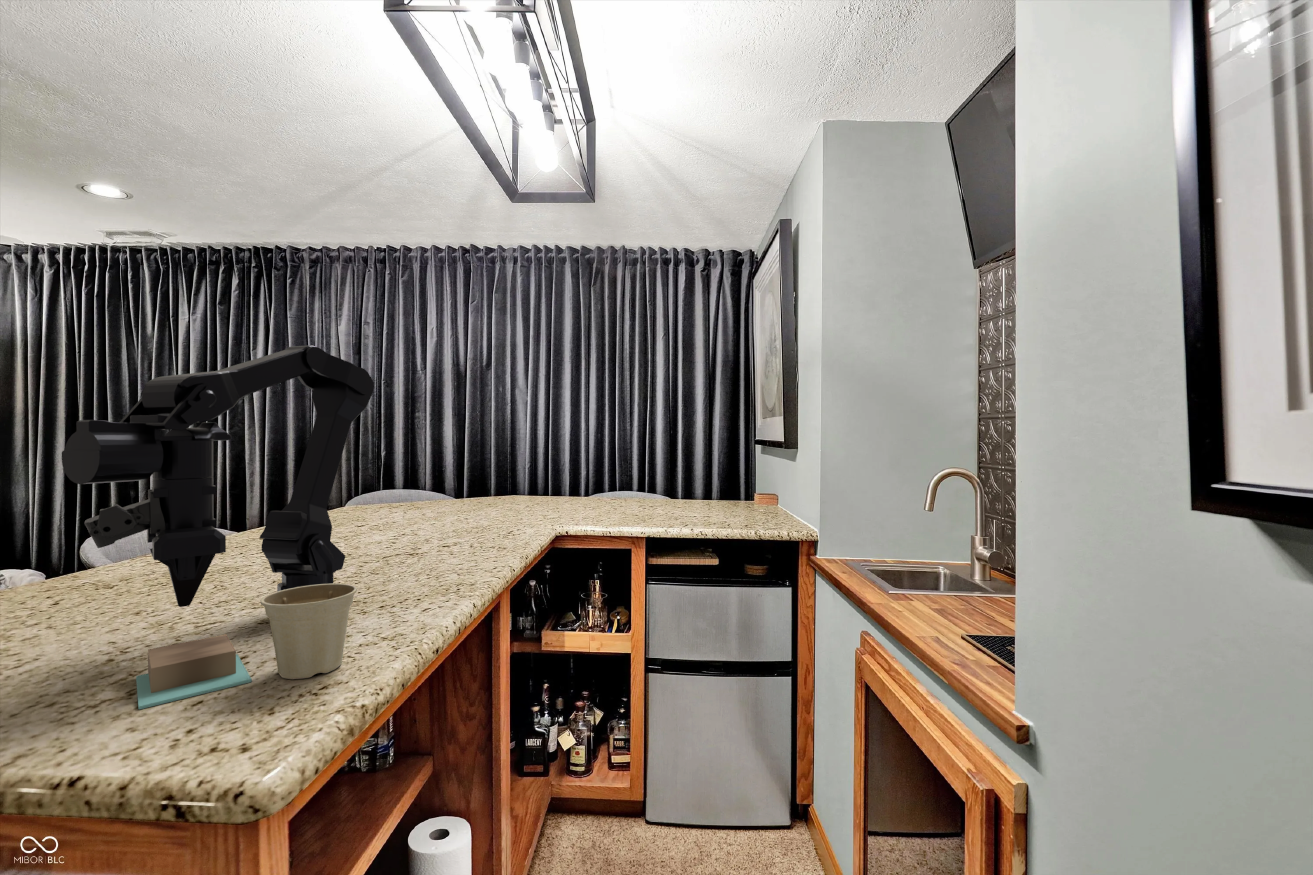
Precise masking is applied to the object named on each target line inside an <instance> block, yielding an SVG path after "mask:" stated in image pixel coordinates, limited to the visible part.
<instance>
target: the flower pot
mask: <svg viewBox="0 0 1313 875" xmlns="http://www.w3.org/2000/svg"><path fill="white" fill-rule="evenodd" d="M357 592H358V587H357V586H356V585H354V584H349V583H336V582H335V583H334V582H333V583H332V584H318V585H309V586H302V587H296V588H290V589H285V590H281V591H278V592H277V591H275V592H271V593H269V594H267V595H264V596H263V597H262V598H261V599H260V600H259V602H260V605H261V606H262V607H264V612H265V615H266V617H267V618H269V625H270V630H271V635H272V636H271V637H272V642H273V648H274V653H275V659H276V666H277V667H276V668H277V673H278V674H279V676H280V677H281V678H282V679H286V680H287V679H289V680H301V679H303V680H304V679H308V678H311V677H313V676H314V675H316V674H320V673H322V674H327V673H329V672H330V673H331V672H333V671H334V670H336V669H338V668H339V667H340V666H341V665H342V663H343V656H344V649H345V641H346V633H347V627H348V619H349V614H350V608H351V606H352V605H353V603H354V601H353V600H354V596H355V594H357Z"/></svg>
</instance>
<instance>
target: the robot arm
mask: <svg viewBox="0 0 1313 875" xmlns="http://www.w3.org/2000/svg"><path fill="white" fill-rule="evenodd" d="M295 378H297V379H298V380H299V381H300V383H301V384H302V385H303V386H305V387H306V388H308V389H310V390H312V396H311V401H312V403H313V406H314V409H315V413H316V417H315V420H314V423H313V427H312V430H311V434H310V436H309V439H308V442H307V446H306V449H305V453H304V456H303V458H302V462H301V466H300V469H299V472H298V475H297V478H296V481H295V484H294V488H293V490H292V494H291V497H290V500H289V502H288V504H286V506H284V507H283V508H282V510H270V511H269V513H268V514H267V516H266V521H265V527H264V528H263V529H264V530H263V531H262V533H261V534H260V536H259V539H262V543H261V553H263V554H264V557H265V558H266V559H267V561H268V563H269V566H270V570H271V572H272V573H275V574H277V573H279V574H280V573H281V582H279V583H278V584H277V591H276V592H278V591H281V590H285V589H290V588H296V587H302V586H309V585H318V584H332V583H334V573H336V572H337V571H341V570H343V567H344V564H345V561H346V560H345V559H346V555H345V554H344V553H343V551H341V550H340V549H339V547H338V546H336V545H335V544H334V542H332V541H331V536H332V531H333V530H332V529H333V524H332V521H331V518H330V516H329V511H328V509H327V508H328V506H329V505H328V504H329V501H330V497H331V493H332V491H333V487H334V484H335V481H336V477H337V473H338V470H339V467H340V463H341V460H342V457H343V452H344V449H345V446H346V442H347V439H348V436H349V432H350V428H351V426H352V423H353V421H355V420H356V419H357V417H358V416H359V415H361V414H362V413H363V412H364V411H365V410H366V409H367V407H368V404H369V402H370V400H371V398H372V396H373V393H374V388H375V382H374V380H373V379H372V377H371V374H370V373H369V372H368V371H367V370H366V369H365V368H364V367H360V366H356V365H355V364H354V363H352V362H350V361H348V360H344V359H342V358H340V357H337V356H335V355H332V354H329V353H328V352H326V351H325V350H323V349H322V348H320V347H318V346H315V345H313V344H312V345H296V346H294V345H293V346H289V347H287V348H285V349H284V350H281V351H276V352H273V353H271V354H267V355H264V356H261V357H257V358H254V359H250V360H248V361H244V362H241V363H238V364H234V365H232V366H228V367H225V368H222V369H219V370H215V371H214V370H212V371H203V372H192V373H184V374H183V373H182V374H173V375H164V376H159V377H158V376H157V377H155V378H152V379H151V380H148V381H147V382H146V383H145V384H144V388H143V391H142V392H141V397H140V399H139V400H138V401H137V402H136V404H135V405H134V406H132V408H131V409H130V410H129V411H128V412H127V413H126V414H125V416H124V417H123V418H122V419H121V420H120V421H119V422H116V421H115V422H113V421H108V420H101V419H100V420H99V419H83V420H78V421H76V431H75V432H74V433H72V434H71V435H70V437H69V438H68V440H67V441H66V444H65V448H64V450H62V451H61V465H62V468H63V471H64V473H65V475H66V476H67V478H68V479H69V480H70V481H71V482H73V483H74V484H77V485H91V484H104V483H107V484H108V483H122V482H123V483H124V482H135V481H136V482H140V481H145V480H147V479H149V478H150V477H151V476H152V486H151V489H148V490H147V491H148V492H147V494H148V495H147V498H148V499H146V500H141V501H139V502H136V503H132V504H129V505H126V506H123V507H122V506H121V505H119V504H117V503H116V504H114V505H112V506H110V507H106V508H101V509H100V510H99V514H98V515H96V516H92V517H90V518H87V519H86V520H85V521H84V523H83V524H84V526H85V527H86V529H87V532H88V533H89V535H90V536H91V538H92V540H93V542H94V544H95V546H96V548H98V549H100V548H101V549H102V548H105V547H108V546H110V545H113V544H115V543H116V541H119V540H122V539H125V538H128V537H130V536H133V535H136V534H138V533H142V532H144V531H146V541H147V543H152V544H151V545H152V546H151V547H152V548H150V549H149V551H150V553H151V556H152V558H153V559H152V560H153V561H158V562H160V563H161V564H163V565H165V566H166V567H167V569H168V573H169V577H170V580H171V583H172V588H173V592H174V597H175V599H176V603H177V606H178V607H179V608H183V607H188V606H189V607H190V605H192V602H193V600H194V598H195V596H196V594H197V592H198V589H199V588H200V585H201V583H202V581H203V580H204V577H205V576H206V574H207V571H208V570H209V568H210V566H211V564H212V562H213V560H214V558H215V556H216V555H217V554H223V553H226V552H227V551H226V550H227V548H226V547H227V545H226V541H227V536H226V535H225V534H224V533H223V532H222V531H220V530H219V529H217V528H216V527H217V519H216V518H214V495H216V494H217V490H216V489H217V488H216V486H217V485H214V442H215V441H217V442H218V441H222V442H223V441H231V439H232V435H231V434H230V433H228V432H227V431H226V430H224V429H222V428H221V427H220V426H219V424H218V423H217V422H215V421H213V420H214V419H216V418H218V417H220V416H221V415H223V414H224V413H226V412H228V411H230V410H231V409H233V408H234V407H235V405H237V403H238V402H239V401H240V400H242V399H243V398H245V397H246V396H250V395H251V394H254V393H257V392H259V391H262V390H266V389H267V388H271V387H273V386H276V385H279V384H282V383H284V382H288V381H290V380H292V379H295ZM211 421H213V422H211ZM196 423H201V424H200V425H198V426H197V427H191V426H193V425H195V424H196ZM160 431H167V432H166V433H165V434H164V436H161V435H160V433H161V432H160Z"/></svg>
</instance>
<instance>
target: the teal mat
mask: <svg viewBox="0 0 1313 875" xmlns="http://www.w3.org/2000/svg"><path fill="white" fill-rule="evenodd" d="M135 680H136V681H135V682H136V692H137V706H138V708H137V709H138V710H143V709H147V708H152V707H155V706H159V705H164V704H167V703H171V702H176V701H180V700H184V699H187V698H191V697H196V696H199V695H200V696H201V695H204V694H208V693H212V692H216V691H220V690H225V689H227V688H231V687H236V686H241V685H245V684H248V683H252V678H251V675H250V674H249V672H248V670H247V669H246V667H245V664H244V663H243V661H242V659H241V658H240V656H239V654H238V653H236V673H235V674H230V675H226V676H222V677H218V678H213V679H209V680H205V681H200V682H196V683H192V684H188V685H183V686H179V687H175V688H171V689H166V690H162V691H158V692H153V693H151V688H150V681H149V674H148V673H144V674H140V675H136V676H135Z"/></svg>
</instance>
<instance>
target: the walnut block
mask: <svg viewBox="0 0 1313 875" xmlns="http://www.w3.org/2000/svg"><path fill="white" fill-rule="evenodd" d="M236 654H237V650H236V648H235V647H234V645H233V643H232V642H231V639H230V638H229V636H228V635H227V634H226V633H225V634H220V635H214V636H210V637H204V638H199V639H195V640H193V639H192V640H188V641H184V642H183V641H182V642H179V643H174V644H167V645H163V646H158V647H152V648H148V649H147V659H148V661H147V663H148V664H147V674H149V681H150V688H151V693H153V692H158V691H162V690H166V689H171V688H175V687H179V686H183V685H188V684H192V683H196V682H200V681H205V680H209V679H213V678H218V677H222V676H226V675H230V674H235V673H236Z"/></svg>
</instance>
